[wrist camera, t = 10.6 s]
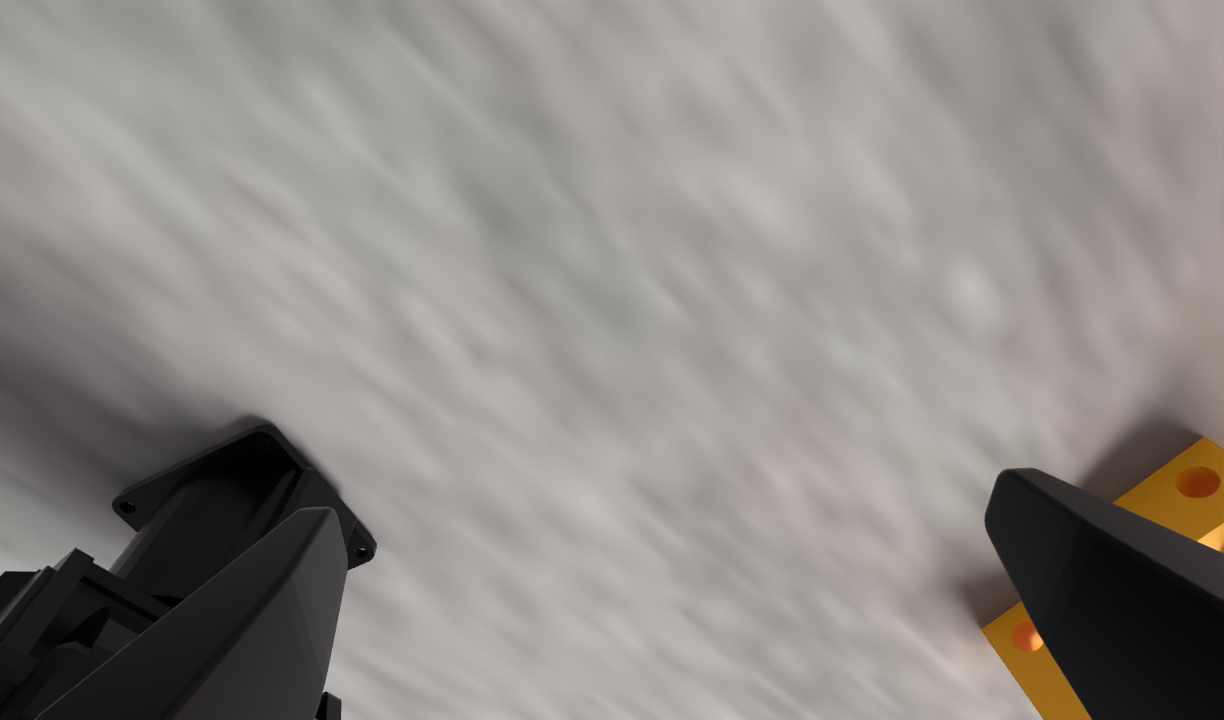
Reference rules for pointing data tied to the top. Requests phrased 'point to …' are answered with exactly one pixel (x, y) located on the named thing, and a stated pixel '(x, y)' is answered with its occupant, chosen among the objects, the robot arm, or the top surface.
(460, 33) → the top surface
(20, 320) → the top surface
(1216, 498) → the pipe clamp
